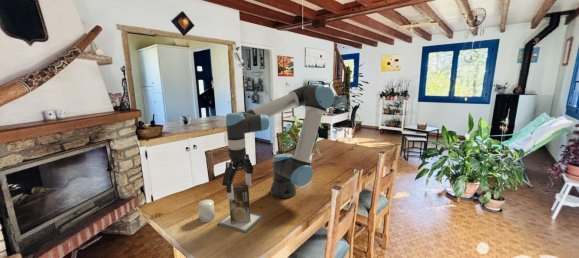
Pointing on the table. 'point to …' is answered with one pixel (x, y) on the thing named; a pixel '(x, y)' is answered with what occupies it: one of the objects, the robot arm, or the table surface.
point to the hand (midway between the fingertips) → (240, 192)
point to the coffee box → (240, 205)
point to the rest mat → (241, 226)
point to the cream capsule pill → (206, 211)
